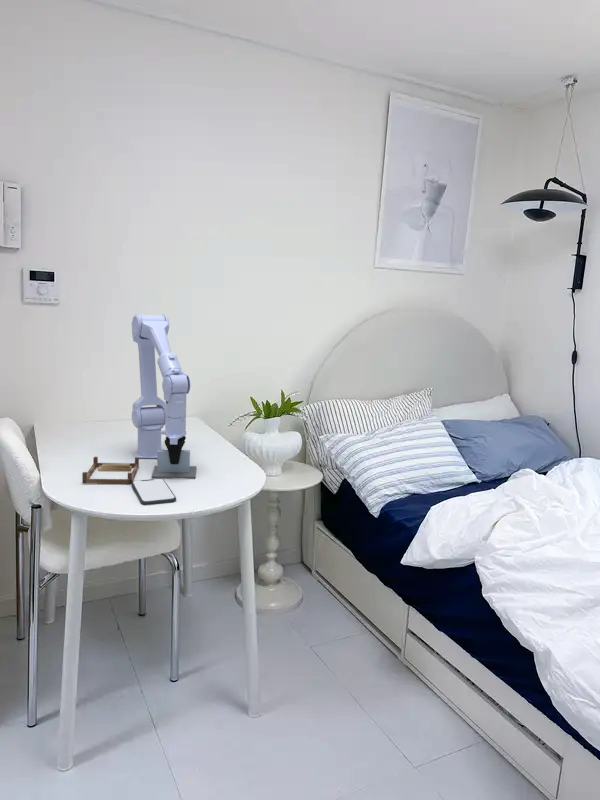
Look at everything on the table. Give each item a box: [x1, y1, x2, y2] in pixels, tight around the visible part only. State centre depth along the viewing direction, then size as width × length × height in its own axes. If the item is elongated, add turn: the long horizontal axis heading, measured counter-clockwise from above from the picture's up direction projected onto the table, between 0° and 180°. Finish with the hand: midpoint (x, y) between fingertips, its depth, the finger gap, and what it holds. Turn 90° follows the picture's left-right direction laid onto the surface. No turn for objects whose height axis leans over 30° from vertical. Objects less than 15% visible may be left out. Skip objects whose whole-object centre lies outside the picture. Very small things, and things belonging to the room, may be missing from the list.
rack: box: [81, 456, 140, 485], centre depth 164 cm, size 16×13×3 cm
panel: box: [156, 449, 191, 472], centre depth 169 cm, size 2×9×6 cm, turn 98°
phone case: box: [131, 478, 177, 506], centre depth 152 cm, size 9×2×16 cm
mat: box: [151, 465, 197, 480], centre depth 169 cm, size 10×12×1 cm
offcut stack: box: [97, 462, 133, 472], centre depth 169 cm, size 3×9×2 cm, turn 98°
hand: (174, 462), depth 169 cm, fingers closed on panel, 2 cm apart
